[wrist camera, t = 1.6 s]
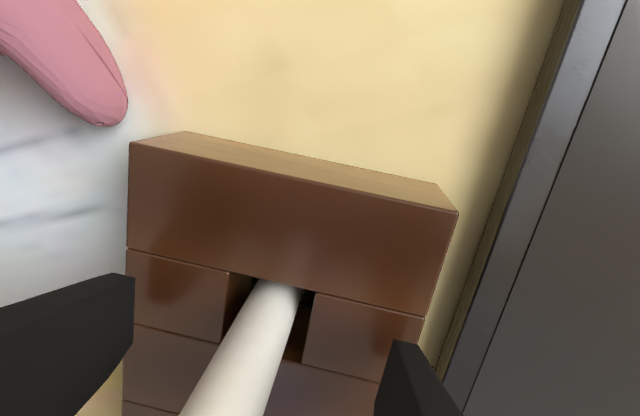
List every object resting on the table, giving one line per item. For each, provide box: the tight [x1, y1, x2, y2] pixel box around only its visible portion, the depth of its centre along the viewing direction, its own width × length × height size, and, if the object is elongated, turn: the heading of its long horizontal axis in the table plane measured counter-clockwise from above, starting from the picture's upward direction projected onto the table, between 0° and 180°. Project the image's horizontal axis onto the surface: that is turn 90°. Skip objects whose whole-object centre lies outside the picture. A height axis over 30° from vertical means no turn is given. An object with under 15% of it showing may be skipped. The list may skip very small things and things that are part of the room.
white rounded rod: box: [179, 278, 304, 416], centre depth 9 cm, size 2×2×8 cm
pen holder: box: [122, 131, 459, 416], centre depth 13 cm, size 14×8×3 cm, turn 170°
